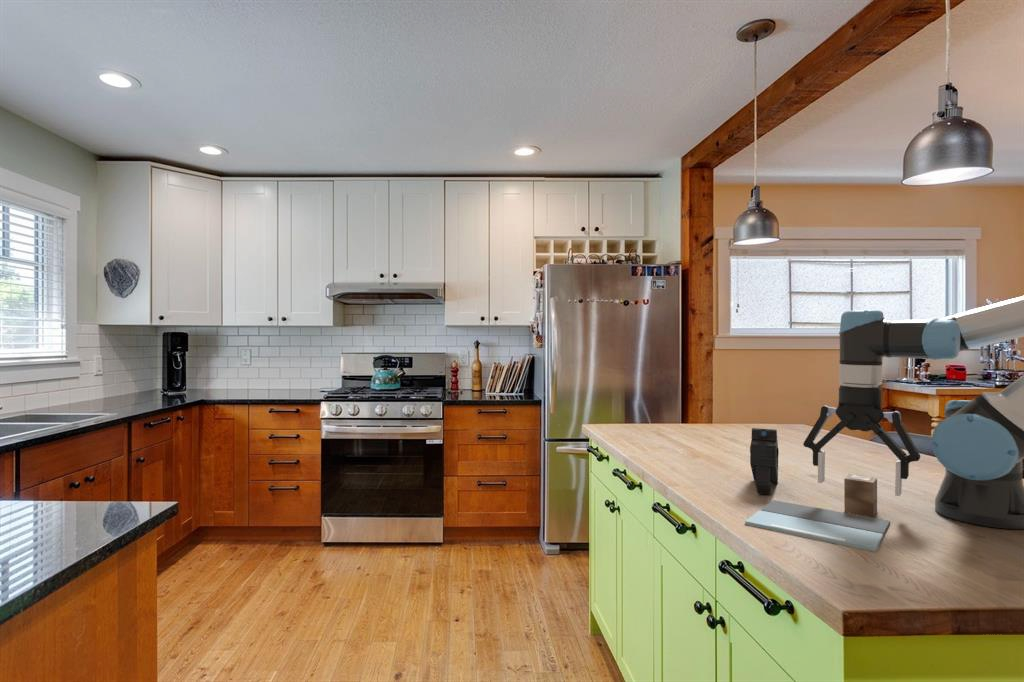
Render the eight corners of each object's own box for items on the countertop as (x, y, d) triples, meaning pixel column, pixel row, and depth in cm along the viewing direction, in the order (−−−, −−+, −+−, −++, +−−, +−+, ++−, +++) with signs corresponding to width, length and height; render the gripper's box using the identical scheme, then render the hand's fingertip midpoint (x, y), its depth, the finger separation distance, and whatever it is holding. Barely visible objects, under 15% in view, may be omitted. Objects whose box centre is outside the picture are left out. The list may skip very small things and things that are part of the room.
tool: (747, 484, 123) (749, 422, 129) (752, 506, 137) (754, 450, 144) (777, 487, 120) (778, 424, 127) (779, 510, 135) (780, 452, 141)
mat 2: (883, 537, 97) (883, 533, 97) (875, 551, 91) (875, 547, 91) (759, 513, 111) (759, 509, 111) (745, 524, 104) (745, 520, 104)
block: (877, 511, 112) (877, 477, 112) (873, 517, 108) (873, 482, 108) (849, 507, 115) (848, 473, 116) (844, 512, 112) (844, 478, 112)
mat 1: (890, 523, 105) (890, 520, 105) (883, 536, 98) (883, 533, 98) (773, 502, 118) (773, 500, 118) (760, 512, 112) (760, 509, 112)
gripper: (937, 388, 107) (935, 496, 107) (798, 380, 123) (796, 473, 123) (935, 391, 101) (933, 504, 101) (789, 382, 117) (787, 480, 118)
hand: (858, 487), depth 112 cm, fingers open, 13 cm apart
